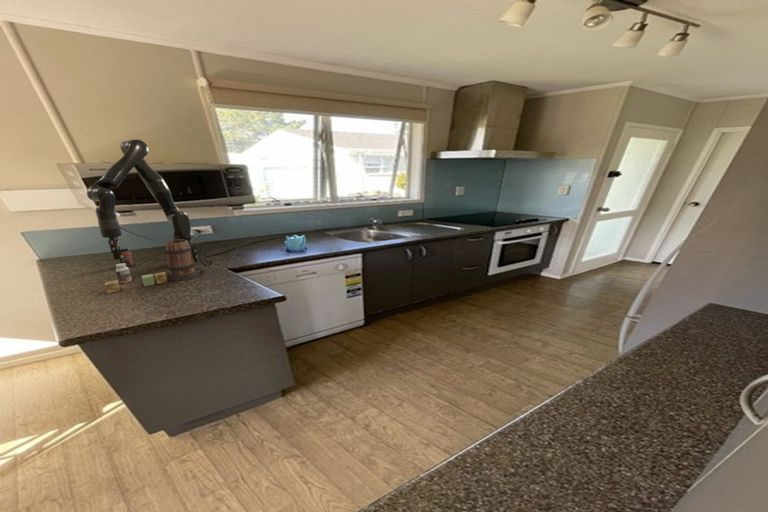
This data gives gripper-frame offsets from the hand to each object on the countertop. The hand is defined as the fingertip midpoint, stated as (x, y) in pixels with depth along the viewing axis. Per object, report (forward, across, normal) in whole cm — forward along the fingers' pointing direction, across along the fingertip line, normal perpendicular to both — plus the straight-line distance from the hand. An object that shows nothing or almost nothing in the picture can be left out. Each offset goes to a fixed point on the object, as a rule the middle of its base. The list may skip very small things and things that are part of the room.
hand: (118, 257), depth 151 cm
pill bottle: (+14, 0, 0) cm, 14 cm away
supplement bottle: (+14, +30, 0) cm, 33 cm away
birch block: (+14, -12, +4) cm, 19 cm away
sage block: (+14, -12, -10) cm, 21 cm away
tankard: (+14, -7, -30) cm, 33 cm away
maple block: (+14, -12, -16) cm, 24 cm away
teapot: (+13, +4, -98) cm, 99 cm away
